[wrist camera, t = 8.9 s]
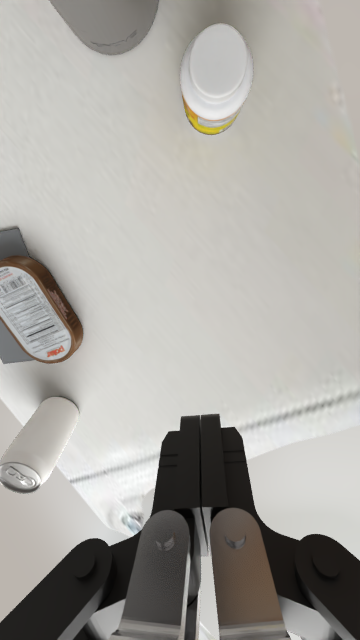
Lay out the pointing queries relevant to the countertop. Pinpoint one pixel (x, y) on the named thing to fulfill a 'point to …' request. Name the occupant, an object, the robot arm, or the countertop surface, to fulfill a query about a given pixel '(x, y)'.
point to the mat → (3, 342)
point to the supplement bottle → (215, 78)
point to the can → (38, 446)
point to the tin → (37, 311)
